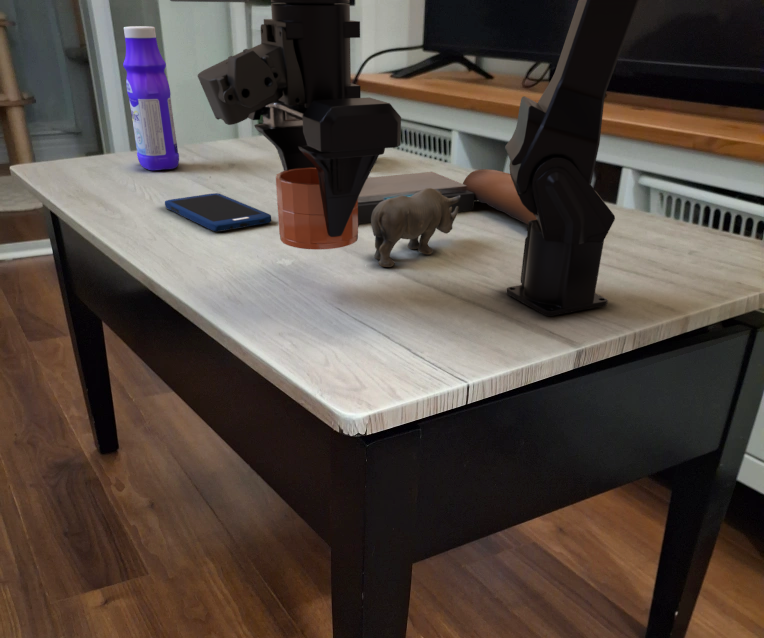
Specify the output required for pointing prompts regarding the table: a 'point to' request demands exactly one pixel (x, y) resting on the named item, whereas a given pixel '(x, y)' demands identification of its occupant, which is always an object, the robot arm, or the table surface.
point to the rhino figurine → (411, 221)
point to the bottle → (149, 100)
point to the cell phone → (217, 212)
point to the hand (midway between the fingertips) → (318, 225)
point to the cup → (308, 212)
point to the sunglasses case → (497, 193)
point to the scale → (409, 191)
